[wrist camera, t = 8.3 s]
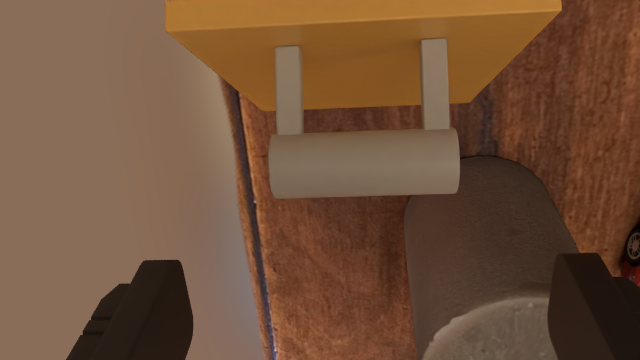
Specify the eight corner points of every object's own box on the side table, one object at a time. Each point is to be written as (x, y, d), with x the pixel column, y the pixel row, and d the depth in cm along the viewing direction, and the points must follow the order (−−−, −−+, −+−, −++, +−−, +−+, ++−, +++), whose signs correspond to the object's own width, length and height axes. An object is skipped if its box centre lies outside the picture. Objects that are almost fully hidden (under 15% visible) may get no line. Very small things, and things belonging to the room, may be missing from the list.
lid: (163, -1, 15) (167, 201, 15) (561, -23, 14) (570, 189, 14) (261, 94, 28) (264, 200, 28) (469, 85, 28) (473, 195, 27)
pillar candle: (583, 197, 38) (701, 376, 25) (491, 301, 43) (550, 500, 29) (454, 127, 37) (508, 279, 23) (372, 243, 41) (378, 426, 28)
